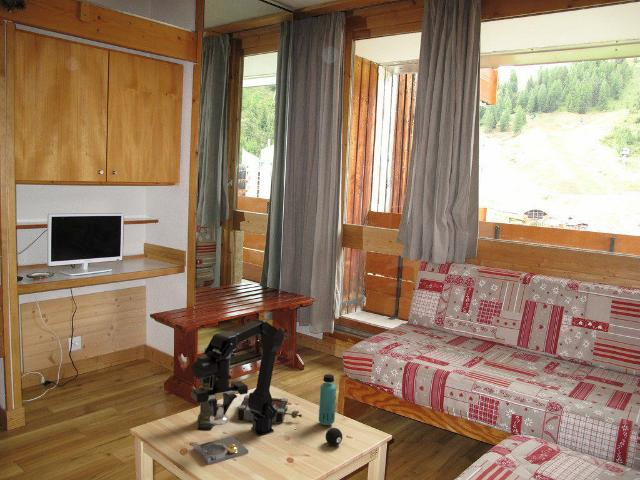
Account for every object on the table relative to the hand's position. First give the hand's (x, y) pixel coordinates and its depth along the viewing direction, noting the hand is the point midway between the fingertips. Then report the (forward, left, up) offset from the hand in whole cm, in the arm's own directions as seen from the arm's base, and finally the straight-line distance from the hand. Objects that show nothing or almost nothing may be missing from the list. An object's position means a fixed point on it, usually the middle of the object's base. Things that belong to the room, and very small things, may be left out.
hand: (218, 415), depth 186 cm
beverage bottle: (-45, +1, -14) cm, 47 cm away
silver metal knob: (0, 0, -2) cm, 2 cm away
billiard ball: (-38, +15, -14) cm, 44 cm away
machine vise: (-31, -16, -14) cm, 38 cm away
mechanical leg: (-6, -23, -14) cm, 27 cm away
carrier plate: (-1, -1, -14) cm, 14 cm away
